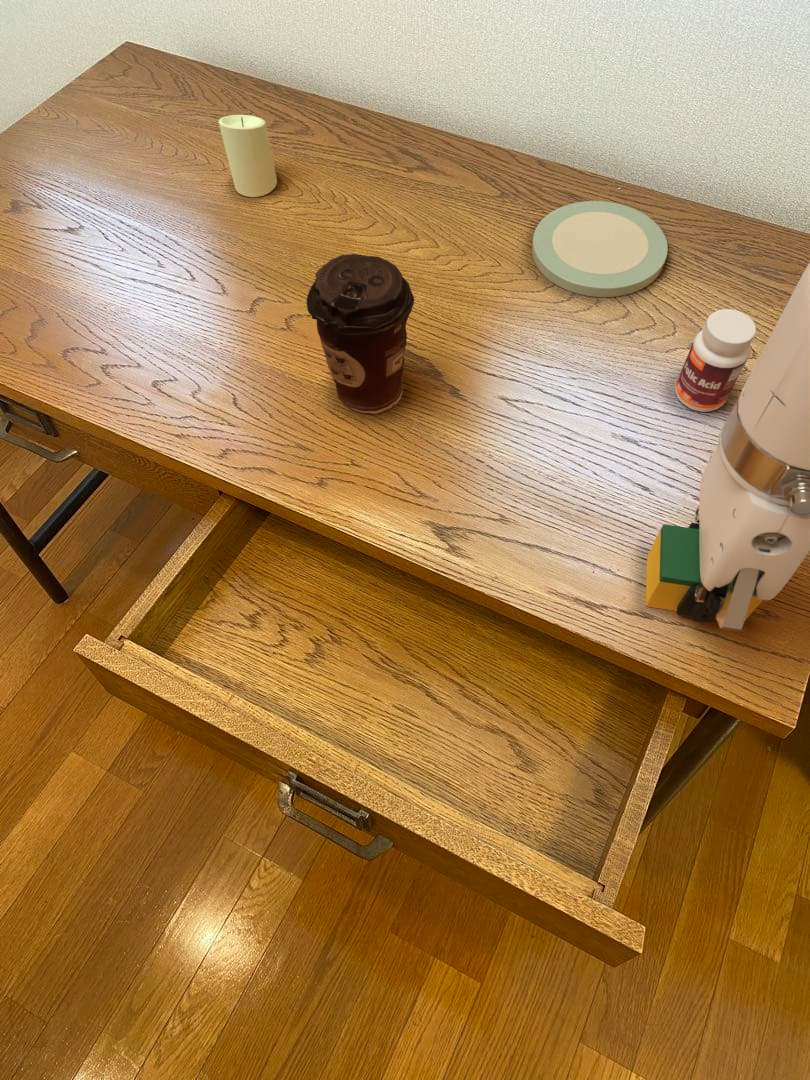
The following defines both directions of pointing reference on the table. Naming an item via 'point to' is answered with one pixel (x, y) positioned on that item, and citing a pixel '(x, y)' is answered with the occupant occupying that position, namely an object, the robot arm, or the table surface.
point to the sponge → (676, 568)
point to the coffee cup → (362, 328)
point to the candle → (248, 154)
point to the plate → (599, 248)
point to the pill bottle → (715, 360)
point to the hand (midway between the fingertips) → (697, 583)
